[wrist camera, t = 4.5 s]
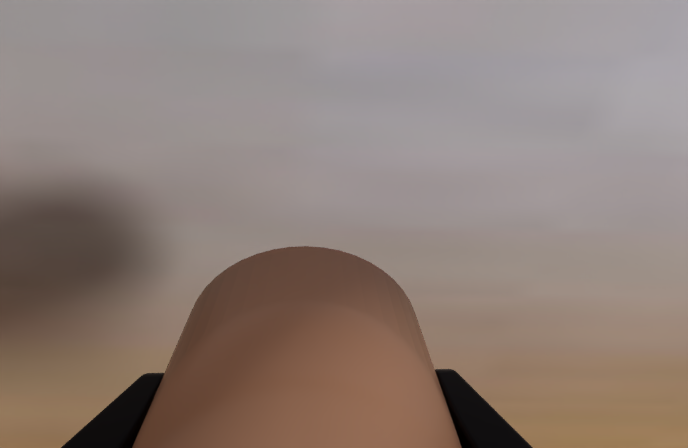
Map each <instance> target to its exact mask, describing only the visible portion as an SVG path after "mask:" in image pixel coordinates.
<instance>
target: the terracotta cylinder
mask: <svg viewBox="0 0 688 448" xmlns="http://www.w3.org/2000/svg"><path fill="white" fill-rule="evenodd" d="M132 448H462V447H461V444H460V441H459V438H458V435H457V432H456V429H455V427H454V424H453V421H452V418H451V415H450V412H449V409H448V406H447V404H446V401H445V398H444V395H443V392H442V389H441V386H440V383H439V381H438V378H437V375H436V372H435V369H434V366H433V363H432V361H431V358H430V355H429V352H428V349H427V346H426V343H425V340H424V338H423V335H422V332H421V329H420V326H419V323H418V320H417V317H416V315H415V312H414V309H413V307H412V305H411V302H410V300H409V299H408V297H407V296H406V294H405V292H404V291H403V289H402V288H401V287H400V286H399V285H398V284H397V283H396V282H395V280H394V279H392V278H391V277H390V276H389V275H388V274H387V273H385V272H384V271H383V270H381V269H380V268H378V267H377V266H375V265H374V264H372V263H370V262H368V261H366V260H364V259H362V258H360V257H357V256H355V255H352V254H349V253H346V252H342V251H339V250H333V249H328V248H321V247H308V246H304V247H287V248H280V249H274V250H270V251H266V252H263V253H259V254H256V255H253V256H251V257H248V258H246V259H244V260H241V261H239V262H238V263H236V264H234V265H232V266H231V267H229V268H227V269H226V270H225V271H223V272H222V273H221V274H219V275H218V276H217V277H216V278H215V279H214V280H213V281H212V282H211V283H210V284H209V285H208V286H207V287H206V288H205V289H204V290H203V292H202V293H201V295H200V296H199V297H198V299H197V301H196V303H195V305H194V307H193V309H192V311H191V313H190V316H189V318H188V320H187V322H186V325H185V327H184V329H183V332H182V334H181V336H180V339H179V341H178V343H177V345H176V348H175V350H174V352H173V355H172V357H171V359H170V362H169V364H168V366H167V368H166V371H165V373H164V375H163V378H162V380H161V382H160V385H159V387H158V389H157V391H156V394H155V396H154V398H153V401H152V403H151V405H150V407H149V410H148V412H147V414H146V417H145V419H144V421H143V424H142V426H141V428H140V430H139V433H138V435H137V437H136V440H135V442H134V444H133V447H132Z"/></svg>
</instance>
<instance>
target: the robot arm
mask: <svg viewBox="0 0 688 448" xmlns="http://www.w3.org/2000/svg"><path fill="white" fill-rule="evenodd" d="M435 372H436V375H437V378H438V381H439V383H440V386H441V389H442V392H443V395H444V398H445V401H446V404H447V406H448V409H449V412H450V415H451V418H452V421H453V424H454V427H455V429H456V432H457V435H458V438H459V441H460V444H461V447H462V448H532V447H531V446H530V445H529V444H528V443H527V442H526V441H525V440H524V439H523V438H522V437H521V436H520V435H519V434H518V433H517V432H516V431H515V430H514V429H513V428H512V427H511V426H510V425H509V424H508V423H507V422H506V421H505V420H504V419H503V418H502V417H501V416H500V415H499V414H498V413H497V412H496V411H495V410H494V409H493V408H492V407H491V406H490V405H489V404H488V403H487V402H486V401H485V400H484V399H483V398H482V397H481V396H480V395H479V394H478V393H477V392H476V391H475V390H474V389H473V388H472V387H471V386H470V385H469V384H468V383H467V382H466V381H465V380H464V379H463V378H462V377H461V376H460V375H459V374H458V373H457V372H456V371H454V370H452V369H436V370H435ZM163 375H164V373H147V374H144V375H142V376H141V377H140V378H139V379H137V380H136V381H135V382H134V383H133V384H132V385H131V386H130V387H128V388H127V389H126V390H125V391H124V392H123V393H122V394H121V395H120V396H118V397H117V398H116V399H115V400H114V401H113V402H112V403H111V404H109V405H108V406H107V407H106V408H105V409H104V410H103V411H102V412H100V413H99V414H98V415H97V416H96V417H95V418H94V419H93V420H91V421H90V422H89V423H88V424H87V425H86V426H85V427H84V428H83V429H81V430H80V431H79V432H78V433H77V434H76V435H75V436H74V437H72V438H71V439H70V440H69V441H68V442H67V443H66V444H65V445H63V446H62V447H61V448H132V447H133V444H134V442H135V440H136V437H137V435H138V433H139V430H140V428H141V426H142V424H143V421H144V419H145V417H146V414H147V412H148V410H149V407H150V405H151V403H152V401H153V398H154V396H155V394H156V391H157V389H158V387H159V385H160V382H161V380H162V378H163Z"/></svg>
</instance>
